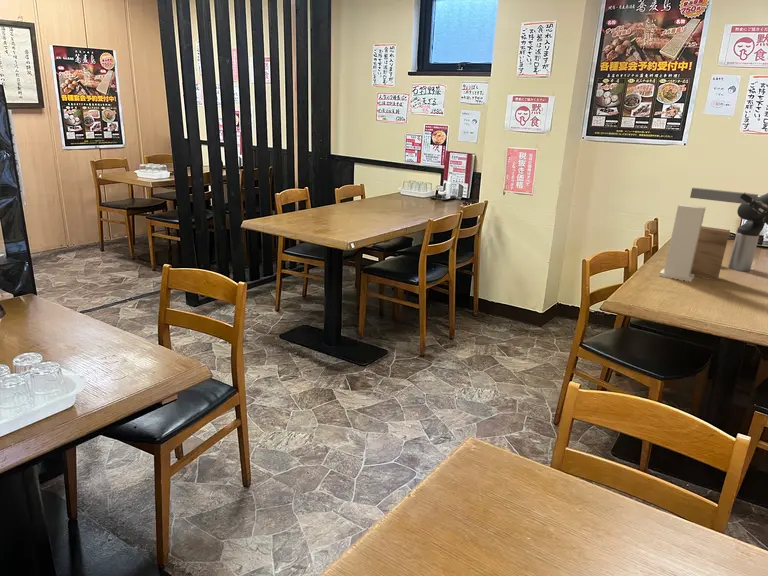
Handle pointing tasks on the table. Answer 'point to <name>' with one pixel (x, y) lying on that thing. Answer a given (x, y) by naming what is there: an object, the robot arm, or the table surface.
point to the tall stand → (683, 242)
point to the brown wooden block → (710, 252)
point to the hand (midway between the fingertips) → (742, 194)
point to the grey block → (720, 195)
